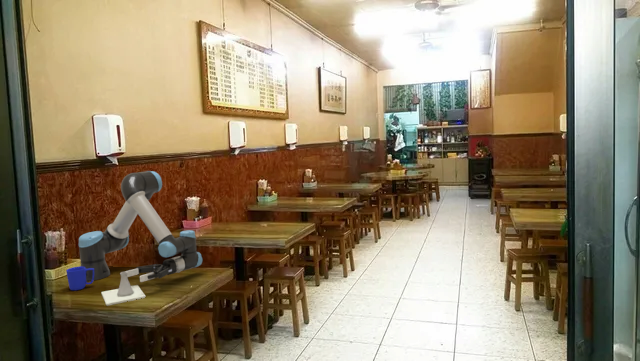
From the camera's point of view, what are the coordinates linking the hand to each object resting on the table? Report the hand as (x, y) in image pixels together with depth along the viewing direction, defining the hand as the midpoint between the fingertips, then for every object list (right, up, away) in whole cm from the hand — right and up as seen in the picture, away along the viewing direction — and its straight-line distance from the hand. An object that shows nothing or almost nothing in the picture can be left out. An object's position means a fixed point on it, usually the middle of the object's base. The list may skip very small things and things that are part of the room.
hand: (132, 276), depth 211 cm
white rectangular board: (-4, -8, -2) cm, 9 cm away
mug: (-30, -8, +13) cm, 34 cm away
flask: (-2, -8, -2) cm, 8 cm away
